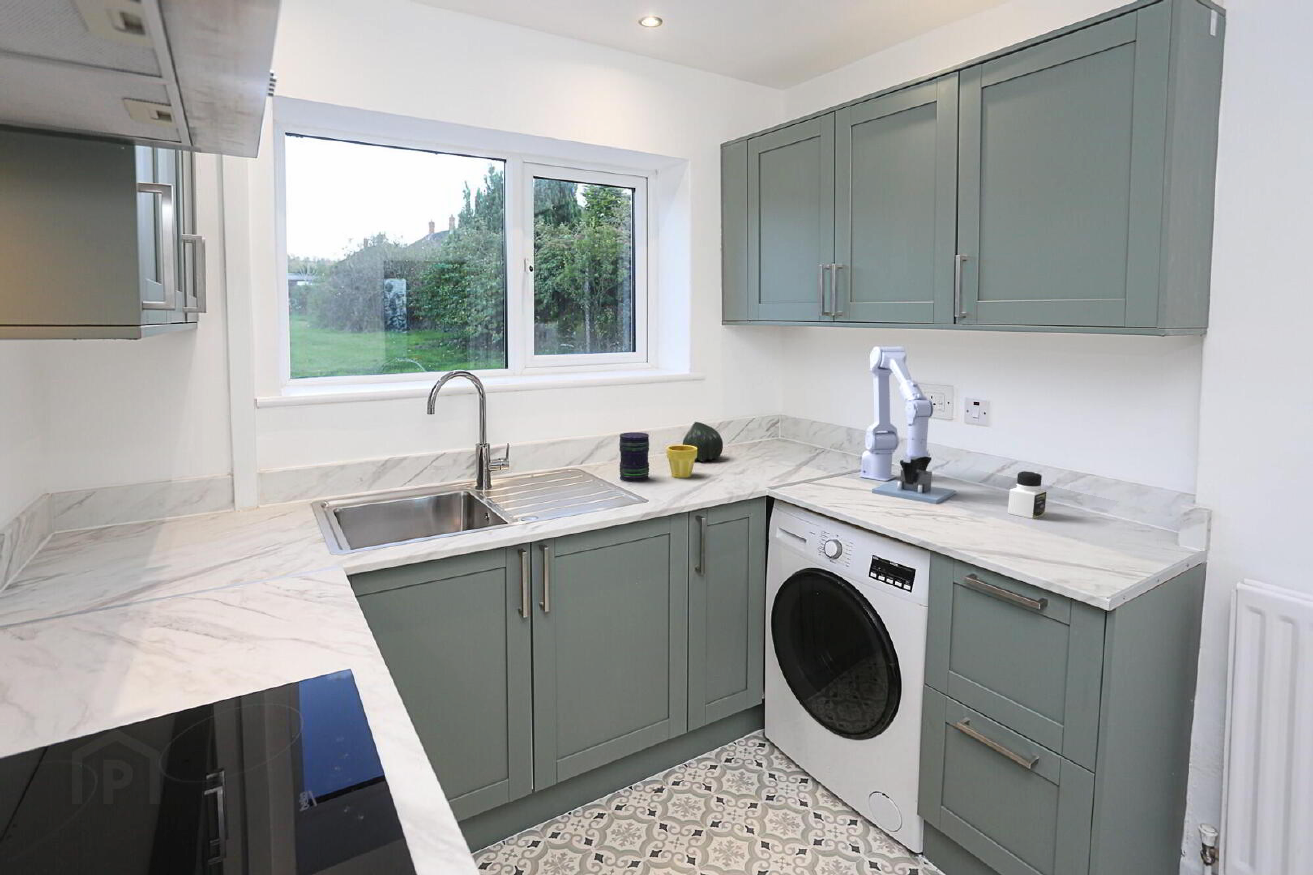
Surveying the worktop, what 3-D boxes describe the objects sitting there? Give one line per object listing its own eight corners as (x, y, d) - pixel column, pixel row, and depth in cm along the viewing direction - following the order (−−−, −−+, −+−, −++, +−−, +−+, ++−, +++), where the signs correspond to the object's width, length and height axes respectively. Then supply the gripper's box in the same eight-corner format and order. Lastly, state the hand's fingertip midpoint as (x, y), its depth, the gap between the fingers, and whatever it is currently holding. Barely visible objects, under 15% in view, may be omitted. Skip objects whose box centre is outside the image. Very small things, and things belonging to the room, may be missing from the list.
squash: (734, 448, 277) (718, 414, 283) (700, 453, 270) (684, 418, 276) (718, 467, 288) (703, 434, 294) (685, 473, 281) (670, 439, 287)
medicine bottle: (1033, 519, 206) (1037, 476, 204) (1007, 513, 212) (1010, 472, 209) (1044, 514, 211) (1048, 472, 209) (1019, 509, 216) (1022, 468, 214)
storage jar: (650, 475, 256) (650, 432, 253) (647, 482, 246) (647, 437, 244) (621, 475, 257) (621, 432, 254) (617, 481, 247) (617, 437, 245)
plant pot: (697, 479, 251) (697, 450, 249) (666, 479, 251) (666, 450, 250) (696, 472, 261) (696, 444, 260) (666, 472, 262) (666, 444, 260)
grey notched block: (899, 489, 234) (900, 469, 233) (905, 486, 238) (906, 467, 237) (925, 493, 229) (926, 473, 228) (930, 490, 232) (932, 471, 231)
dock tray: (872, 492, 234) (872, 480, 234) (893, 483, 246) (894, 472, 246) (936, 504, 221) (937, 491, 221) (955, 493, 233) (956, 481, 233)
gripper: (920, 443, 223) (917, 488, 225) (939, 436, 234) (936, 479, 236) (897, 440, 227) (895, 484, 230) (916, 434, 238) (914, 476, 241)
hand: (914, 481), depth 233 cm, fingers open, 7 cm apart
